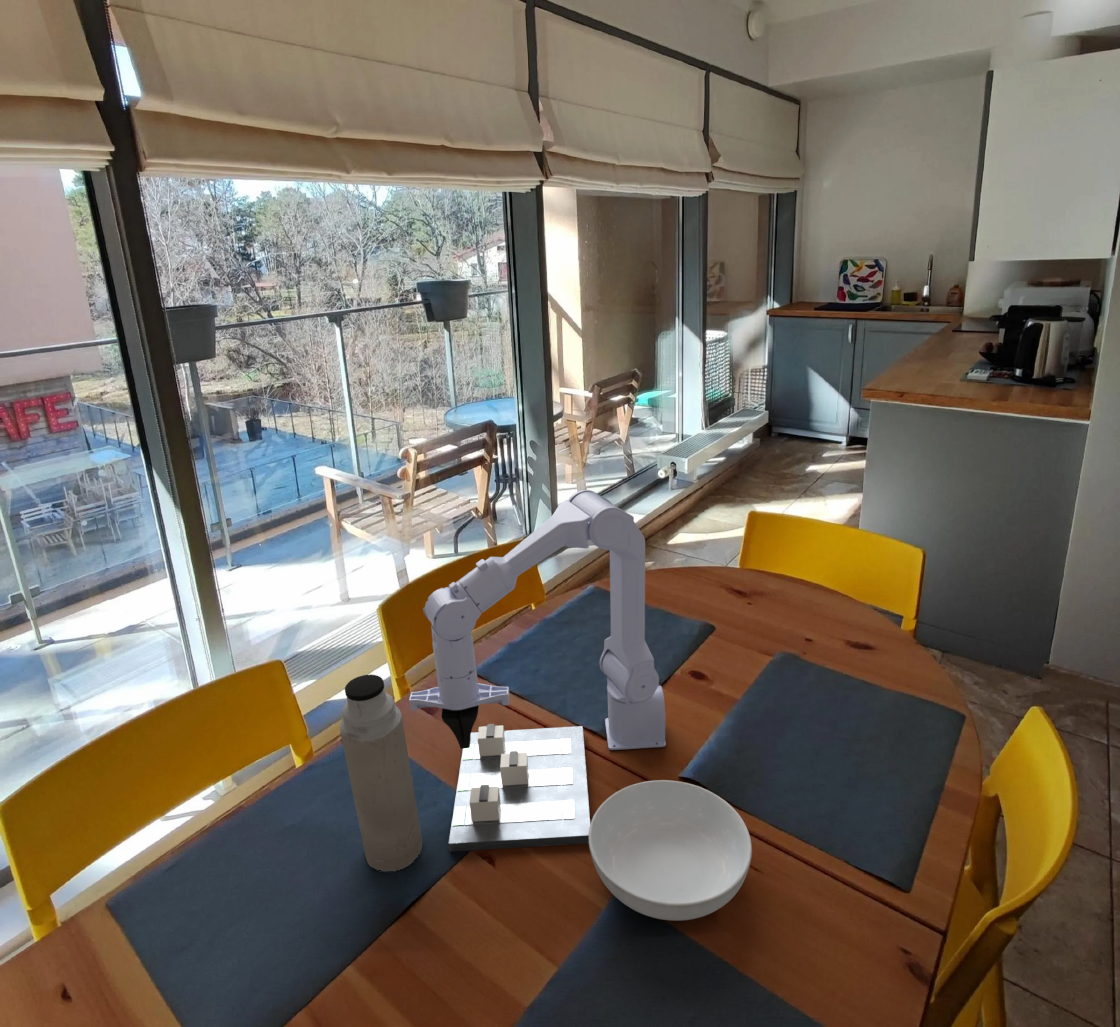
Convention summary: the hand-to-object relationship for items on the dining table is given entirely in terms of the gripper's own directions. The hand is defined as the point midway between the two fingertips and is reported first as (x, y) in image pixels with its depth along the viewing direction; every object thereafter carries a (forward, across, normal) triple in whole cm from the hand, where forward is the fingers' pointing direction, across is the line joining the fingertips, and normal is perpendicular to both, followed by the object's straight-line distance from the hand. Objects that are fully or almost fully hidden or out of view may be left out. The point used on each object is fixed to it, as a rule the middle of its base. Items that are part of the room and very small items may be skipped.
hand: (465, 744), depth 112 cm
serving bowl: (+9, -28, +18) cm, 35 cm away
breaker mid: (+7, -7, 0) cm, 10 cm away
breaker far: (+7, -3, -7) cm, 10 cm away
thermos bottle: (+9, +10, +11) cm, 17 cm away
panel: (+9, -8, 0) cm, 12 cm away
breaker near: (+7, -3, +7) cm, 10 cm away
